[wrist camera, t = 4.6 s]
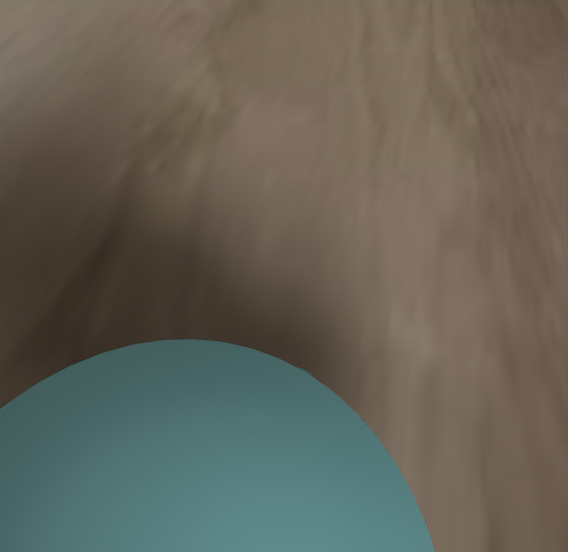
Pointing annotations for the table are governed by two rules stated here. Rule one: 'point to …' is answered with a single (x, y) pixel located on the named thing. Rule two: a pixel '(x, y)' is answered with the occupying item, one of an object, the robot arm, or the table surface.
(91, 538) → the teal lidded canister
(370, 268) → the table surface
